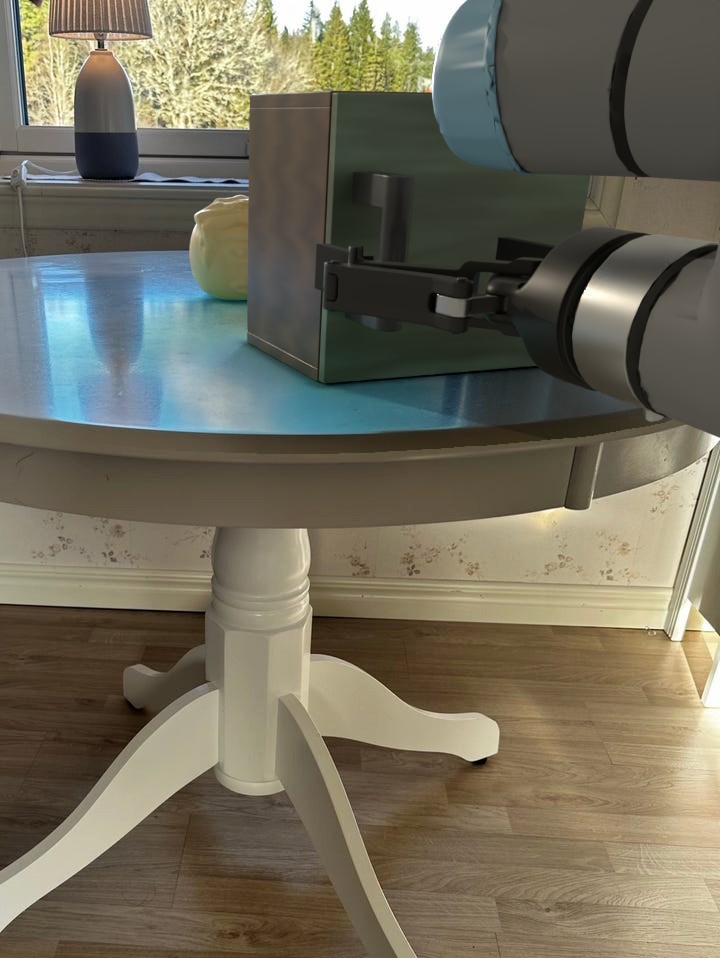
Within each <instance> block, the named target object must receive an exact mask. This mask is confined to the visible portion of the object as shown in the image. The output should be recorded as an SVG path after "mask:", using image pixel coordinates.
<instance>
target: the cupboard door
mask: <svg viewBox="0 0 720 958" xmlns="http://www.w3.org/2000/svg"><path fill="white" fill-rule="evenodd" d="M591 177H592V175H563V174H534V175H524V174H519V173H518V172H514V171H507V170H500V169H494V168H487V167H482V166H477V165H473V164H469V163H467V162H465V161H463V160H462V159H460V158H459V157H458V156H456V155H455V154H454V153H453V152H452V150H451V149H450V148H449V147H448V145H447V144H446V142H445V140H444V137H443V135H442V134H441V132H440V127H439V124H438V122H437V120H436V117H435V113H434V107H433V98H432V94H385V93H333V94H332V113H331V134H330V155H329V176H328V197H327V218H326V239H325V243H328V244H332V245H335V246H339V247H343V248H347V249H349V246H364V250H363V253H366V254H369V255H373V256H374V261H387V262H400V263H413V264H426V265H439V266H452V267H461V266H462V265H463V264H464V263H465V262H467V261H470V260H473V259H489V260H495V259H496V251H497V244H498V237H510V238H516V239H521V240H527V241H532V242H538V243H543V244H549V245H554V246H557V245H558V244H559V243H560V242H561V241H563V240H564V239H566V238H567V237H569V236H571V235H573V234H575V233H577V232H579V231H582V230H583V226H584V220H585V219H584V218H585V212H586V206H587V202H588V194H589V189H590V183H591ZM493 274H494V273H490V272H481V273H480V278H479V286H478V293H486V287H487V284H488V281H489V279H490V277H491V276H492V275H493ZM526 367H527V368H528V367H537V365H536V364H535V363H534V362H533V360H532V359H531V357H530V356H529V354H528V352H527V350H526V347H525V345H524V343H523V340H522V338H521V337H514V336H506V335H504V334H503V333H502V332H500V331H499V330H493V329H483V328H474V327H469V329H468V331H467V332H466V333H461V334H452V333H451V332H448V331H445V330H441V329H438V328H434V327H431V326H427V325H421V324H415V323H408V322H402V321H396V320H390V319H384V318H377V317H371V316H365V315H359V314H353V313H346V312H340V311H329V310H326V309H324V308H323V302H322V323H321V344H320V365H319V382H321V383H322V384H332V383H334V384H335V383H345V382H346V383H347V382H357V381H368V380H369V381H371V380H382V379H393V378H394V379H395V378H406V377H417V376H430V375H431V376H432V375H442V374H453V373H467V372H479V371H491V370H504V369H513V368H514V369H515V368H526Z"/></svg>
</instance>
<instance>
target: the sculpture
mask: <svg viewBox="0 0 720 958" xmlns="http://www.w3.org/2000/svg"><path fill="white" fill-rule="evenodd" d="M248 201H249V196H246V195H243V194H238V195H235V196H233V197H226V198H225V197H217V198H215V199H214V201H213V202H211V204H210V205H208V206H206V207H204V208H203V209H201V210H199V211H197V212H196V213H195V214H194V215H193V219H194V222H195V225H194V228H193V230H192V233H191V236H190V240H189V253H188V254H189V255H188V256H189V263H190V268H191V273H192V275H193V279H194V280H195V283H196V284H197V286H198V287H199V289H200V290H201V291H203V292H204V293H206V294H207V295H209V296H211V297H213V298H216V299H219V300H225V301H247V289H248Z"/></svg>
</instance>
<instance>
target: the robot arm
mask: <svg viewBox="0 0 720 958" xmlns="http://www.w3.org/2000/svg"><path fill="white" fill-rule="evenodd" d="M431 92H432V98H433V107H434V113H435V117H436V120H437V122H438V124H439V127H440V132H441V134H442V135H443V137H444V140H445V142H446V144H447V145H448V147H449V148H450V149H451V150H452V152H453V153H454V154H455V155H456V156H458V157H459V158H460V159H462V160H463V161H465V162H467V163H469V164H473V165H477V166H482V167H487V168H494V169H500V170H507V171H514V172H518V173H519V174H524V175H534V174H563V175H591V177H592V176H593V177H594V176H595V177H623V178H624V177H625V178H626V177H627V178H653V179H655V178H656V179H669V180H684V181H685V180H686V181H700V182H715V183H716V182H717V183H720V0H465V1H464V2H463V3H462V4H461V5H460V6H459V7H458V8H457V10H456V11H455V12H454V13H453V15H452V16H451V18H450V19H449V21H448V23H447V25H446V27H445V29H444V32H443V34H442V37H441V39H440V41H439V44H438V47H437V50H436V54H435V58H434V64H433V71H432V79H431ZM718 228H719V231H720V227H718ZM363 250H364V246H349V249H347V248H343V247H339V246H335V245H332V244H328V243H323V244H316V267H315V289H318V290H321V291H323V308H324V309H326V310H329V311H340V312H346V313H353V314H359V315H365V316H371V317H377V318H384V319H390V320H396V321H402V322H408V323H415V324H421V325H427V326H431V327H434V328H438V329H441V330H445V331H448V332H451V333H452V334H461V333H466V332H467V331H468V329H469V327H474V328H483V329H493V330H499V331H500V332H502V333H503V334H504V335H506V336H514V337H521V338H522V340H523V343H524V345H525V347H526V350H527V352H528V354H529V356H530V357H531V359H532V360H533V362H534V363H535V364H536V365H537V366H536V367H538V368H539V370H541V371H542V372H543V373H545V374H546V375H548V376H551V377H552V378H555V379H558V380H560V381H563V382H566V383H569V384H570V385H574V386H576V387H579V388H582V389H584V390H588V391H590V392H591V391H592V392H597V393H600V394H602V395H603V396H607V397H609V398H613V399H616V400H618V401H620V402H624V403H627V404H630V405H632V406H636V407H638V408H641V409H642V417H643V419H644V420H645V421H647V422H649V423H653V422H659V421H662V420H663V419H664V418H668V419H671V420H673V421H677V422H679V423H682V424H684V425H686V426H689V427H692V428H694V429H696V430H699V431H702V432H704V433H707V434H708V435H712V436H714V437H717V438H719V439H720V239H719V240H718V241H711V240H704V239H697V238H689V237H684V236H683V237H682V236H675V235H668V234H662V233H656V234H650V233H646V232H639V231H633V230H626V229H618V228H613V227H605V226H603V227H602V226H597V227H590V228H585V229H582V231H579V232H577V233H575V234H573V235H571V236H569V237H567V238H566V239H564V240H563V241H561V242H560V243H559V244H558V245H557V246H554V245H549V244H543V243H538V242H532V241H527V240H521V239H516V238H510V237H498V244H497V251H496V259H495V260H489V259H473V260H470V261H467V262H465V263H464V264H463V265H462V266H461V267H452V266H439V265H426V264H413V263H400V262H387V261H374V256H373V255H369V254H366V253H363ZM481 272H490V273H494V274H493V275H492V276H491V277H490V279H489V281H488V284H487V287H486V293H478V286H479V278H480V273H481Z"/></svg>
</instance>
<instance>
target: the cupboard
mask: <svg viewBox="0 0 720 958" xmlns="http://www.w3.org/2000/svg"><path fill="white" fill-rule="evenodd" d="M333 93H385V94H432V91H431V92H430V91H429V92H427V91H382V90H381V91H379V90H378V91H376V90H333V89H332V90H314V91H313V90H312V91H295V92H293V91H291V92H272V93H253V94H249V115H248V116H249V121H248V126H249V128H248V197H249V201H248V289H247V300H246V301H247V303H246V305H247V306H246V307H247V308H246V331H247V332H246V343H248V344H250V345H252V346H253V347H255V348H256V349H259V350H260V351H262V352H263V353H266V354H267V355H269V356H271V357H273V358H274V359H276V360H279V361H280V362H281V363H283V364H285V365H287V366H289V367H290V368H292V369H294V370H295V371H297V372H298V373H301V374H303V375H304V376H307V377H308V378H310V379H312V380H314V381H315V382H318V383H319V382H320V381H319V365H320V344H321V323H322V302H323V291H321V290H318V289H315V267H316V244H323V243H325V239H326V218H327V197H328V176H329V155H330V134H331V113H332V94H333Z"/></svg>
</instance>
